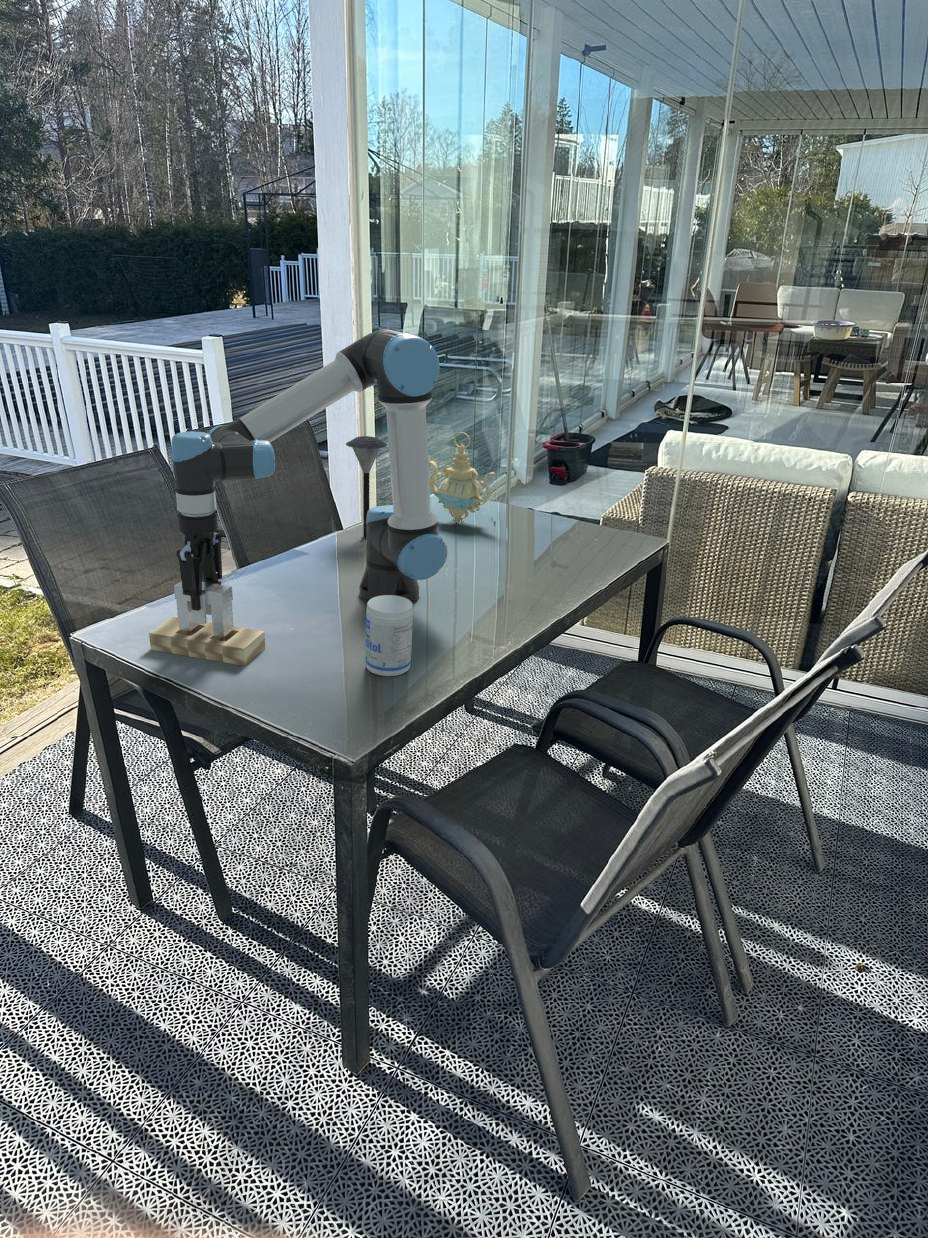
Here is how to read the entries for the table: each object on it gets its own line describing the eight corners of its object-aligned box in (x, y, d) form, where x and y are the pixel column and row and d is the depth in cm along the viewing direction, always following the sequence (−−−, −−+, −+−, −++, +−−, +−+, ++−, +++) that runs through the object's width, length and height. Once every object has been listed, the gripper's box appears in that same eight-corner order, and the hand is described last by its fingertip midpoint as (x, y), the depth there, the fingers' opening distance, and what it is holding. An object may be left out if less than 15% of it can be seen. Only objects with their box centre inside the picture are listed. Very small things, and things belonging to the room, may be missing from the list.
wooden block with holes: (265, 648, 177) (264, 631, 176) (245, 666, 169) (244, 648, 168) (174, 633, 182) (172, 616, 180) (150, 649, 174) (148, 632, 172)
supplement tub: (356, 667, 171) (355, 602, 165) (388, 653, 178) (389, 590, 172) (388, 682, 166) (389, 616, 160) (420, 667, 173) (422, 603, 167)
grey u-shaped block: (234, 629, 174) (231, 586, 170) (225, 637, 171) (222, 592, 167) (188, 622, 177) (184, 579, 173) (178, 629, 173) (173, 585, 169)
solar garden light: (352, 544, 243) (352, 443, 231) (341, 532, 253) (340, 434, 241) (391, 541, 248) (393, 441, 236) (379, 529, 258) (380, 433, 246)
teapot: (417, 521, 267) (420, 429, 255) (435, 514, 276) (439, 424, 264) (481, 536, 256) (487, 440, 244) (498, 527, 266) (505, 434, 254)
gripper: (202, 498, 172) (211, 601, 181) (155, 520, 156) (167, 631, 166) (235, 502, 170) (241, 606, 180) (190, 525, 155) (200, 637, 164)
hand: (206, 618), depth 173 cm, fingers closed on grey u-shaped block, 4 cm apart
